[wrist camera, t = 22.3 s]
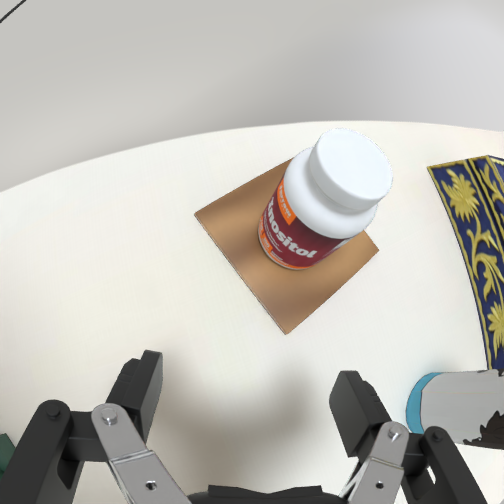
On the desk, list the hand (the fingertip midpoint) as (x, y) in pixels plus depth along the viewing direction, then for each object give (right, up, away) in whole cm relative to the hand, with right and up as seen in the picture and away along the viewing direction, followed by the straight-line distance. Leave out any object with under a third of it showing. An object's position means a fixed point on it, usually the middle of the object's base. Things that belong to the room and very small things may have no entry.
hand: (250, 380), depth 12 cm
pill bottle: (+3, +7, +13) cm, 15 cm away
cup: (+18, -10, +10) cm, 23 cm away
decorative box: (+31, +3, +17) cm, 36 cm away
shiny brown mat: (+4, +7, +13) cm, 15 cm away
